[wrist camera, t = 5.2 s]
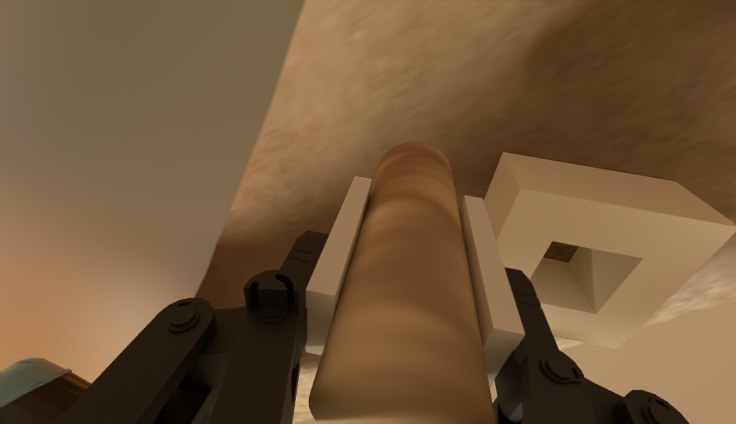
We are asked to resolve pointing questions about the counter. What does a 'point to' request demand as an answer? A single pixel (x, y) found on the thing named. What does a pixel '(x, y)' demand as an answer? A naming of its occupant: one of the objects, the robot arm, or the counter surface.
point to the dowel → (406, 308)
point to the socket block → (599, 242)
